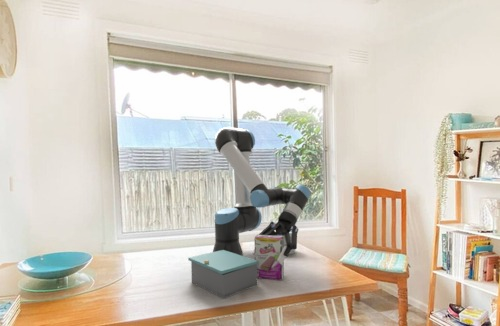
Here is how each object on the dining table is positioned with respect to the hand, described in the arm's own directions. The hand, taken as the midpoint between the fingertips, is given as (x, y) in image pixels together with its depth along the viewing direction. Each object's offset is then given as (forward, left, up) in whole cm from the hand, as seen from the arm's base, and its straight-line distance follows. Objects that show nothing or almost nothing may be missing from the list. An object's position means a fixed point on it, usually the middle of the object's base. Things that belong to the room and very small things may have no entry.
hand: (266, 258), depth 119 cm
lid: (-8, -15, +1) cm, 17 cm away
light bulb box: (-18, +32, -8) cm, 38 cm away
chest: (-8, -15, -8) cm, 19 cm away
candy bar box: (0, +2, -8) cm, 8 cm away
